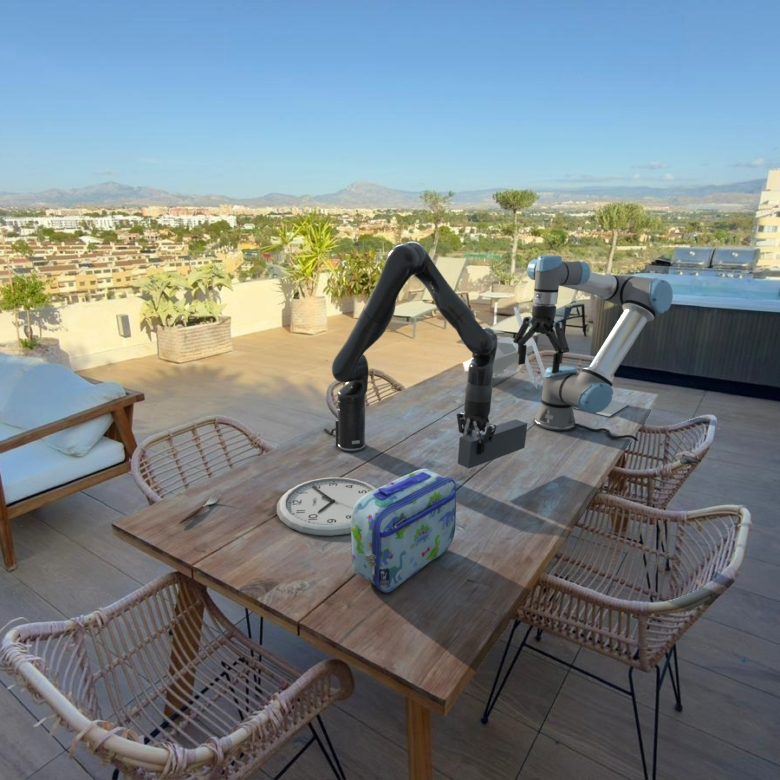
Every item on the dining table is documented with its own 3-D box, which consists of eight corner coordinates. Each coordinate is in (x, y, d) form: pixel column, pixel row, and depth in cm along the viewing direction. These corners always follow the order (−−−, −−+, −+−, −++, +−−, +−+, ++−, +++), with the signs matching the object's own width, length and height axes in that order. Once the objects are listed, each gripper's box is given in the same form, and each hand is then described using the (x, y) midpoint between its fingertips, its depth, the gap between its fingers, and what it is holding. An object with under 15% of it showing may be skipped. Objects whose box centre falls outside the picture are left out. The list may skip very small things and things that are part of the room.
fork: (175, 524, 132) (174, 517, 132) (215, 495, 146) (215, 489, 146) (183, 526, 131) (182, 519, 131) (223, 497, 146) (222, 490, 145)
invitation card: (608, 416, 214) (573, 407, 224) (608, 416, 214) (573, 408, 224) (628, 404, 229) (594, 396, 238) (628, 405, 229) (594, 397, 238)
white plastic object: (484, 418, 267) (463, 395, 242) (465, 346, 289) (445, 318, 264) (554, 394, 255) (540, 367, 230) (529, 321, 277) (514, 289, 252)
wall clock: (392, 527, 129) (268, 531, 127) (391, 533, 130) (269, 537, 127) (383, 473, 158) (282, 475, 155) (383, 478, 158) (282, 480, 156)
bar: (513, 443, 173) (516, 419, 170) (524, 447, 170) (527, 423, 167) (457, 463, 157) (459, 437, 155) (468, 468, 154) (470, 442, 151)
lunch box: (379, 605, 105) (380, 513, 99) (344, 580, 112) (343, 493, 106) (459, 552, 123) (464, 471, 116) (425, 533, 130) (428, 456, 124)
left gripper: (451, 392, 155) (447, 445, 160) (488, 406, 144) (482, 462, 149) (469, 388, 159) (464, 440, 164) (505, 401, 149) (500, 456, 154)
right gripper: (506, 301, 176) (501, 362, 182) (571, 310, 157) (563, 378, 164) (520, 299, 180) (515, 359, 187) (585, 308, 162) (577, 374, 168)
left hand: (473, 450), depth 157 cm, fingers closed on bar, 4 cm apart
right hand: (537, 368), depth 175 cm, fingers open, 13 cm apart
